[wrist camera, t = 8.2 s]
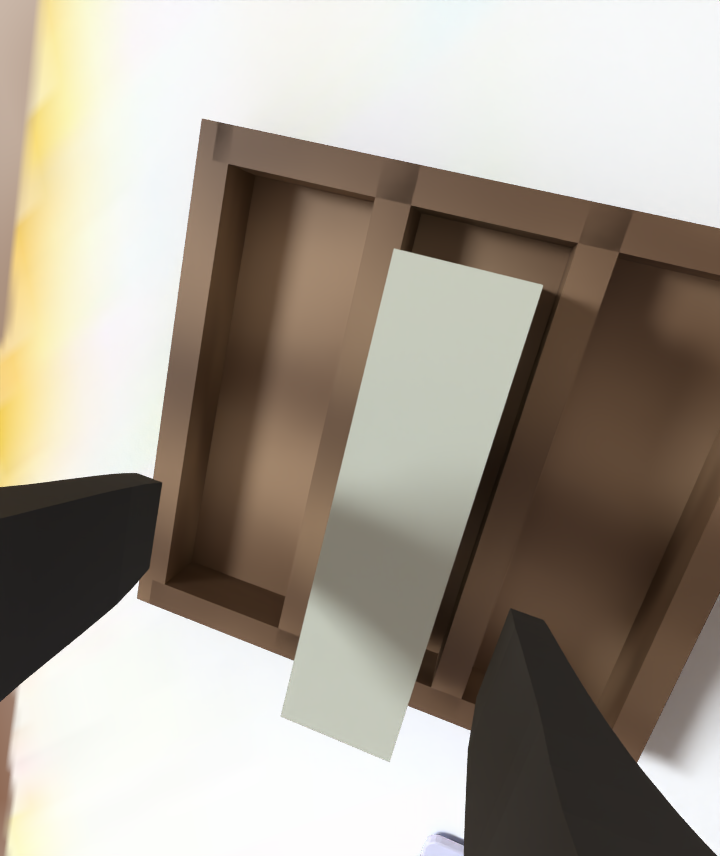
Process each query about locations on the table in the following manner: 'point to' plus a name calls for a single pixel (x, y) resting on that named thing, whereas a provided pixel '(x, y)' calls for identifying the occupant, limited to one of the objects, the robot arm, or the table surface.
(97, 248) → the table surface
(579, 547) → the strip rack
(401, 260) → the clay strip
